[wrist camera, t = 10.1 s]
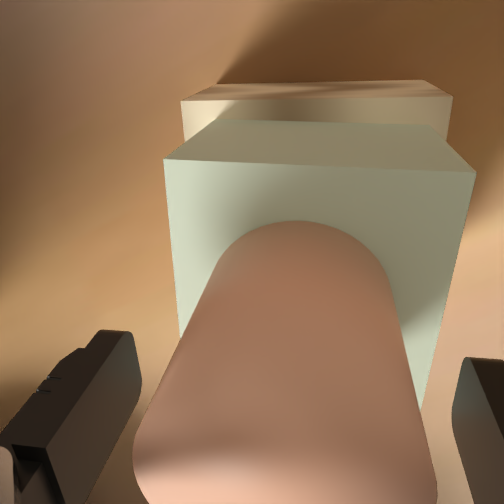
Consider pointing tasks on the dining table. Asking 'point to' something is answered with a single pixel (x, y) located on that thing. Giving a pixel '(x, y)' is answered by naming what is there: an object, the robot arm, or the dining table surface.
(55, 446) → the robot arm
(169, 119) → the dining table surface
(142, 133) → the dining table surface
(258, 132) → the sage block
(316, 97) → the birch base block
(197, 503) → the coral cylinder
